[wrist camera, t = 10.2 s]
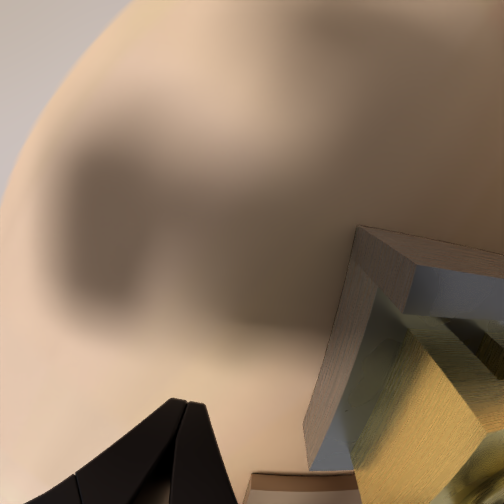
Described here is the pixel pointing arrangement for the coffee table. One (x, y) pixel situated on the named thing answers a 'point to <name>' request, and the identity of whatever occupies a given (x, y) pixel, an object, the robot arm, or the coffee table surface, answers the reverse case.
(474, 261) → the rail
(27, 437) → the coffee table surface
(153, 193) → the coffee table surface
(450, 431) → the olive boxy piece
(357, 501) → the brown tile
